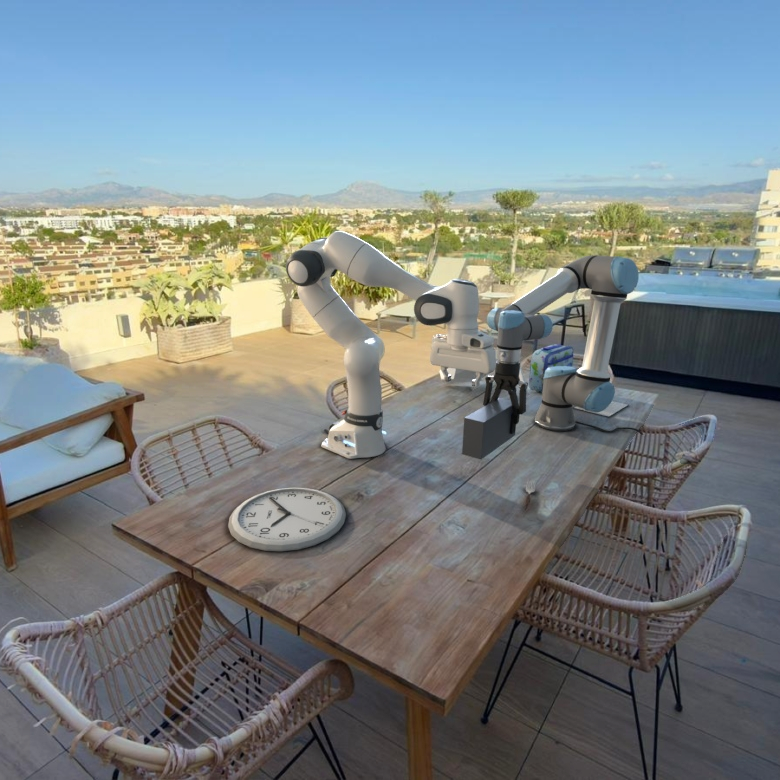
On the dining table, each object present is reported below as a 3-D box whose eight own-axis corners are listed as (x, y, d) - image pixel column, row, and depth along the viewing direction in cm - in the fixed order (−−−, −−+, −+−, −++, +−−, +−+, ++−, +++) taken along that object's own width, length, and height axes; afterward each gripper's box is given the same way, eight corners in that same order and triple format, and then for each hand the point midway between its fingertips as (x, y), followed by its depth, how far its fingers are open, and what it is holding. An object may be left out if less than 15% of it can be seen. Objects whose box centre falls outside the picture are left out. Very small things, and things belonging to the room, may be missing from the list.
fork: (520, 510, 142) (521, 503, 141) (526, 484, 156) (527, 478, 155) (530, 512, 141) (531, 505, 140) (535, 486, 155) (536, 480, 154)
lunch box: (545, 397, 238) (550, 352, 231) (524, 391, 245) (529, 348, 239) (572, 386, 255) (578, 344, 249) (552, 381, 262) (557, 340, 256)
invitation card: (608, 416, 214) (573, 407, 224) (608, 416, 214) (573, 408, 224) (628, 404, 229) (594, 396, 238) (628, 405, 229) (594, 397, 238)
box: (497, 430, 175) (500, 397, 171) (515, 435, 171) (518, 401, 167) (461, 454, 156) (464, 417, 153) (481, 459, 153) (483, 422, 149)
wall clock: (346, 543, 123) (215, 547, 120) (346, 549, 123) (215, 553, 121) (345, 483, 151) (239, 485, 149) (345, 488, 152) (240, 490, 149)
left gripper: (426, 335, 153) (425, 380, 157) (489, 343, 141) (487, 391, 146) (437, 331, 158) (437, 375, 162) (499, 339, 146) (497, 386, 150)
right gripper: (474, 358, 165) (470, 426, 172) (533, 368, 154) (525, 440, 161) (485, 354, 171) (480, 420, 178) (542, 363, 160) (535, 433, 167)
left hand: (461, 383), depth 154 cm, fingers open, 8 cm apart
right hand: (502, 429), depth 170 cm, fingers closed on box, 6 cm apart
